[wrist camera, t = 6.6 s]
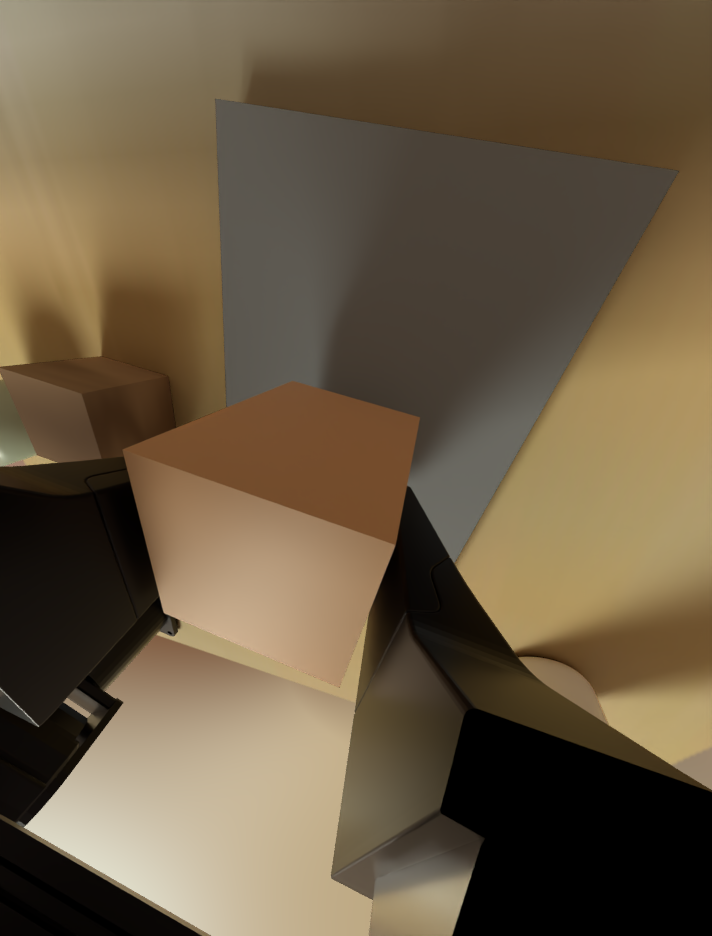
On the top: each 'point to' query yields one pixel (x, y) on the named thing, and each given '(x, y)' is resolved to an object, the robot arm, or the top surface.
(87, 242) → the top surface
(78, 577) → the robot arm
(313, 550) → the terracotta block
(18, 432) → the sage cylinder
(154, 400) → the walnut block
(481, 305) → the slate mat
